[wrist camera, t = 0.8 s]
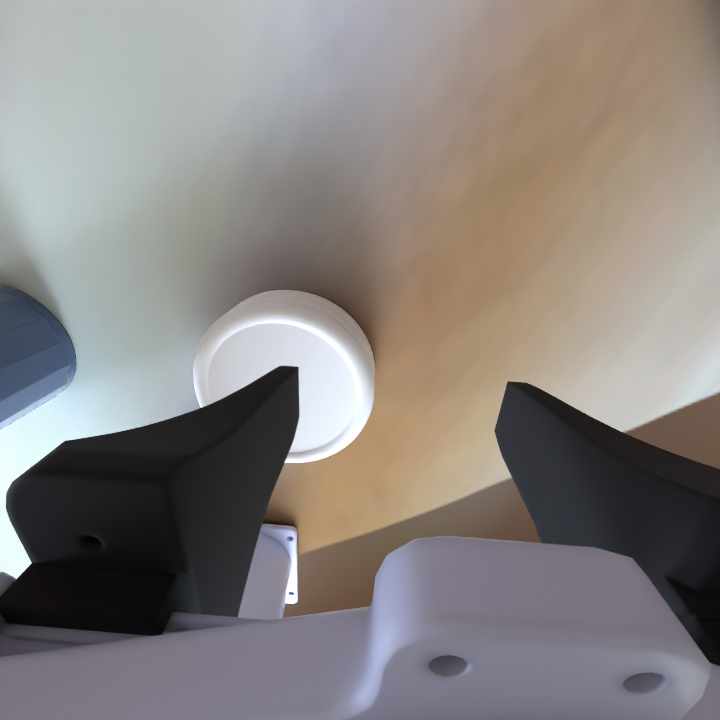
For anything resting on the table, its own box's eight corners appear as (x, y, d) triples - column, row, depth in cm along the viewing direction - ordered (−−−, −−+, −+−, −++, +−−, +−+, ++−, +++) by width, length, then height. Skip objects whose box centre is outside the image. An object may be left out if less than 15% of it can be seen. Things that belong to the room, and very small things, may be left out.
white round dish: (216, 272, 19) (184, 286, 16) (390, 304, 20) (392, 324, 17) (216, 418, 24) (190, 451, 20) (359, 443, 24) (356, 480, 21)
